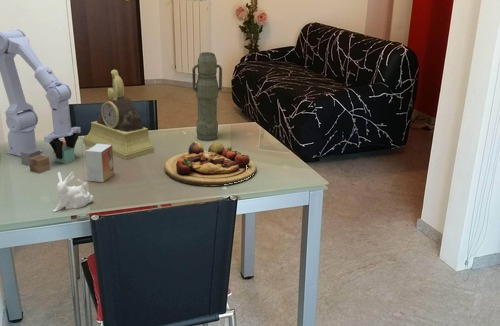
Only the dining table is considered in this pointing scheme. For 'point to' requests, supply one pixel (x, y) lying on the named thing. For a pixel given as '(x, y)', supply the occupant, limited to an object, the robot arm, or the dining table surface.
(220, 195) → the dining table surface
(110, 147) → the small box
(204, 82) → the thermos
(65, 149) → the green block
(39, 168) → the walnut block
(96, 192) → the dining table surface
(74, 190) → the rabbit figurine
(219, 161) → the wooden plate with food
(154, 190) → the dining table surface
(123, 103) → the decorative clock
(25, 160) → the charcoal block
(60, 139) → the terracotta block
